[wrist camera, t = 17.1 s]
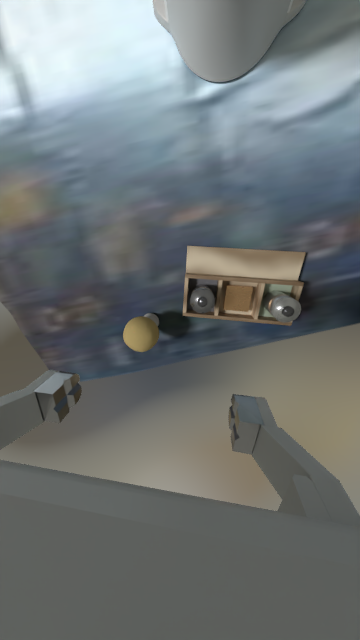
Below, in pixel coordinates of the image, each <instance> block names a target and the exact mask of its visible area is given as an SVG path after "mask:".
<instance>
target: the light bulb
mask: <svg viewBox="0 0 360 640" xmlns="http://www.w3.org/2000/svg"><path fill="white" fill-rule="evenodd" d="M158 325H159V319H158V317H157V316H156V315H155V314H152V313H148V314H146V315H144V316H140V317H136V318H133V319H132V320H130V321H129V322H128V323H127V325H126V326H125V329H124V332H123V338H124V341H125V343H126V344H127V345H128V346H129V347H130V348H131V349H133V350H135V351H139V352H144V351H147V350H149V349H151V348H152V347H153V346H154V345H155V344H156V343H157V341H158V338H159V329H158Z"/></svg>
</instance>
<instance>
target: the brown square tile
mask: <svg viewBox="0 0 360 640" xmlns="http://www.w3.org/2000/svg"><path fill="white" fill-rule="evenodd" d="M252 291H253V287H251V286H238V285H226V291H225V298H224V304H223V310H232V311H243V312H248V311H249V306H250V301H251V296H252Z"/></svg>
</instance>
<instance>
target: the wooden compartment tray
mask: <svg viewBox="0 0 360 640" xmlns="http://www.w3.org/2000/svg"><path fill="white" fill-rule="evenodd" d="M305 253H306V252H288V251H270V250H252V249H234V248H216V247H198V246H188V247H187V263H186V274H185V287H184V304H183V316H192V317H202V318H213V319H224V320H235V321H246V322H257V323H268V324H279V325H290V326H291V324H292V321H291V322H287V323H283V322H280V321H278V320H277V319H276V318H275V317H273V316H272V315H271V314H270V313H269V312H268V311H267V310H266V309H265V308H264V306H263V303H262V301H263V298H264V296H265V295H266V294H267V293H268V292H270V291H273V290H278V291H281V292H283V293H284V294H286V295H288V296H290V297H292V298H293V299H295V300H297V301H299V298H300V294H301V291H302V288H303V284H304V283H303V282H300V281H298V278H299V274H300V271H301V267H302V264H303V260H304V257H305ZM201 284H204V285H207V286H209V287H210V288H211V290H212V292H213V295H214V298H215V304H214V307H213V308H212V309H211V310H210V311H209V312H207V313H198V312H196V311H195V310H193V308H192V307H191V304H190V298H191V294H192V291H193V289H194V288H195V287H196V286H197V285H201ZM226 285H238V286H251V287H253V291H252V296H251V301H250V306H249V311H248V312H243V311H232V310H223V304H224V298H225V291H226Z"/></svg>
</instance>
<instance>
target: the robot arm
mask: <svg viewBox="0 0 360 640" xmlns="http://www.w3.org/2000/svg"><path fill="white" fill-rule="evenodd" d="M305 2H306V0H153V8H154V14H155V17H156V19H157V20H158V22H159V23H160V24H161V25H162V26H163V27H164V28H165V29H166V30H167V31H168V32H169V33H170V34H171V35H172V37H173V39H174V41H175V44H176V46H177V48H178V51H179V53H180V55H181V57H182V59H183V60H184V62H185V63H186V65H187V66H188V67H189V68H190V69H191V70H192V71H193V72H194V73H195V74H196V75H198V76H199V77H201V78H203V79H205V80H208V81H213V82H225V81H230V80H233V79H235V78H238V77H240V76H241V75H243V74H245V73H246V72H248V71H249V70H250V69H251V68H252V67H254V66H255V65H256V64H257V63H258V61H259V60H260V59H261V58H262V57H263V56H264V54H265V53H266V51H267V50H268V49H269V47H270V45H271V44H272V42H273V40H274V39H275V37H276V35H277V34H278V33H279V31H280V30H281V28H282V27H283V26H285V25H286V24H287V23H288V22H289V21H290V20H292V19H293V18H294V17H295V16H296V15H297V14H298V13H299V12H300V11H301V9H302V8H303V6H304V5H305ZM79 381H80V378H79V375H78V374H75V373H69V372H63V371H55V370H49V371H47V372H45V373H44V374H43V375H42V376H40V377H39V378H38V379H36V380H35V381H34V382H32V383H31V384H30V385H28V386H27V387H26V388H25V389H23V390H18V391H15V392H13V393H10V394H8V395H5V396H2V397H0V450H1V449H2V448H4V447H5V446H7V445H9V444H10V443H12V442H13V441H15V440H16V439H18V438H20V437H21V436H23V435H24V434H26V433H27V432H29V431H31V430H32V429H34V428H35V427H37V426H38V425H40V424H42V423H43V422H44V421H46V422H55V423H61V422H62V420H63V419H64V418H65V417H66V415H67V414H68V413H69V411H70V407H72V406H74V405H76V404H77V402H78V401H79V399H80V396H81V393H82V388H81V386H80V385H79V384H78V382H79ZM231 403H232V406H231V407H230V408H229V428H230V429H231V430H232V433H231V443H232V449H233V451H236V452H241V453H246V454H251V455H252V456H253V458H254V459H255V461H256V462H257V463H258V465H259V467H260V468H261V469H262V471H263V472H264V474H265V475H266V477H267V478H268V480H269V481H270V483H271V484H272V485H273V487H274V488H275V490H276V491H277V493H278V494H279V495H280V497H281V498H282V502H281V504H280V506H279V509H278V511H272V510H267V509H261V508H256V507H251V506H245V505H240V504H235V503H229V502H224V501H218V500H213V499H208V498H203V497H197V496H192V495H186V494H181V493H175V492H170V491H165V490H159V489H154V488H149V487H143V486H138V485H133V484H127V483H122V482H117V481H111V480H106V479H100V478H95V477H89V476H84V475H79V474H74V473H68V472H63V471H57V470H52V469H47V468H41V467H36V466H30V465H25V464H20V463H14V462H9V461H4V460H0V640H360V516H359V514H358V513H357V510H356V509H355V507H354V505H353V503H352V502H351V500H350V498H349V497H348V495H347V493H346V491H345V490H344V488H343V486H342V485H341V483H340V481H339V480H338V479H336V477H334V476H333V475H332V474H331V473H330V472H329V471H328V470H327V469H326V468H325V467H323V466H322V465H321V464H320V463H319V462H318V461H317V460H316V459H315V458H314V457H313V456H311V455H310V454H309V453H308V452H307V451H306V450H305V449H304V448H303V447H301V445H299V444H298V443H297V442H296V441H295V440H294V439H293V438H292V437H291V436H290V435H288V434H287V433H286V432H285V431H284V430H283V429H282V428H279V427H277V424H276V422H275V419H274V417H273V415H272V412H271V410H270V408H269V405H268V403H267V400H266V399H265V398H262V397H252V396H244V395H236V394H233V395H232V398H231Z"/></svg>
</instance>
